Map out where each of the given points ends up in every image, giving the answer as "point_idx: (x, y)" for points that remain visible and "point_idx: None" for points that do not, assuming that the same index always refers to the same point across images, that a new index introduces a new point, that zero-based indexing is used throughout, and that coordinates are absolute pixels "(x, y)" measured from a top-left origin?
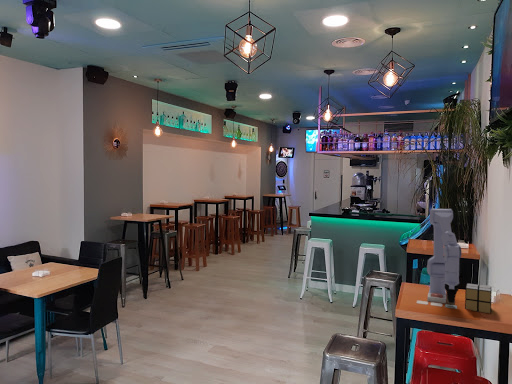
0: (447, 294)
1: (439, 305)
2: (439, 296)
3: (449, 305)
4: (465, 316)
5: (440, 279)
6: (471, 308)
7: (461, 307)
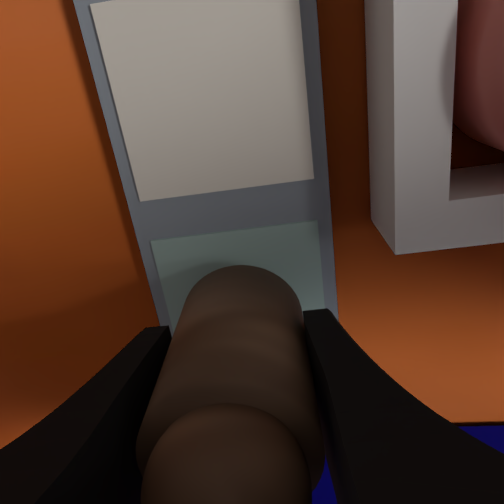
0: (33, 428)
1: (170, 155)
2: (497, 121)
3: None
4: (4, 444)
5: None
6: None
7: None
